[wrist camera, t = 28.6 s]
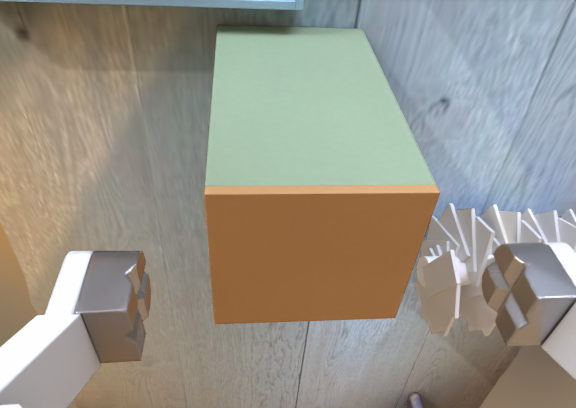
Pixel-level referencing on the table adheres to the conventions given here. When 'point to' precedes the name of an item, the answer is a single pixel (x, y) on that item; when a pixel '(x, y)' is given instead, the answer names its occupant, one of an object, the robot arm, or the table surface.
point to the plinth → (309, 179)
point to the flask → (414, 401)
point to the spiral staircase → (475, 259)
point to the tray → (191, 3)
